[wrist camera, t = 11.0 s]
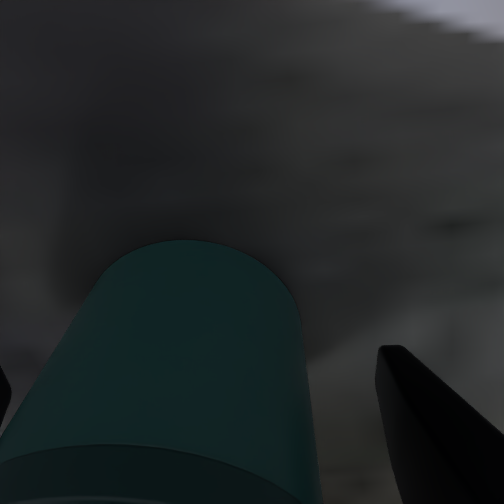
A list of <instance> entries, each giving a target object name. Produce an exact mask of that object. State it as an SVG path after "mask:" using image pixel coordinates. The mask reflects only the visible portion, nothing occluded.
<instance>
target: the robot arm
mask: <svg viewBox="0 0 504 504" xmlns="http://www.w3.org/2000/svg"><path fill="white" fill-rule="evenodd" d="M375 385H376V392H377V397H378V402H379V407H380V412H381V417H382V422H383V427H384V432H385V437H386V442H387V447H388V452H389V456H390V461H391V465H392V469H393V473H394V476H395V480H396V483H397V486H398V489H399V493H400V496H401V499H402V502H403V504H504V434H503V433H501V432H500V431H499V430H498V429H497V428H496V427H495V426H493V425H492V424H491V423H490V422H489V421H488V420H487V419H485V418H484V417H483V416H482V415H481V414H480V413H479V412H478V411H476V410H475V409H474V408H473V407H472V406H471V405H470V404H468V403H467V402H466V401H465V400H464V399H463V398H462V397H460V396H459V395H458V394H457V393H456V392H455V391H454V390H453V389H451V388H450V387H449V386H448V385H447V384H446V383H445V382H443V381H442V380H441V379H440V378H439V377H438V376H437V375H435V374H434V373H433V372H432V371H431V370H430V369H429V368H428V367H426V366H425V365H424V364H423V363H422V362H421V361H420V360H418V359H417V358H416V357H415V356H414V355H413V354H412V353H410V352H409V351H408V350H407V349H406V348H405V347H403V346H401V345H383V346H381V347H380V348H379V350H378V356H377V365H376V374H375ZM11 393H12V391H11V387H10V384H9V382H8V380H7V378H6V376H5V374H4V372H3V370H2V368H1V366H0V427H1V424H2V422H3V419H4V416H5V414H6V411H7V408H8V406H9V403H10V400H11Z"/></svg>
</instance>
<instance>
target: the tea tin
mask: <svg viewBox="0 0 504 504" xmlns="http://www.w3.org/2000/svg"><path fill="white" fill-rule="evenodd" d="M0 504H323V498H322V490H321V481H320V473H319V465H318V457H317V449H316V441H315V433H314V425H313V417H312V409H311V401H310V393H309V385H308V377H307V369H306V360H305V352H304V344H303V336H302V328H301V320H300V316H299V312H298V308H297V306H296V304H295V302H294V299H293V297H292V296H291V294H290V292H289V291H288V289H287V288H286V286H285V285H284V284H283V283H282V282H281V280H280V279H279V278H278V277H277V276H276V275H275V274H274V273H273V272H271V271H270V270H269V269H268V268H267V267H266V266H264V265H263V264H261V263H260V262H258V261H257V260H256V259H254V258H252V257H250V256H248V255H246V254H244V253H242V252H241V251H238V250H235V249H233V248H230V247H227V246H224V245H220V244H216V243H212V242H205V241H198V240H173V241H164V242H159V243H155V244H151V245H147V246H145V247H142V248H139V249H136V250H134V251H132V252H130V253H128V254H126V255H125V256H123V257H121V258H120V259H118V260H117V261H116V262H114V263H113V264H112V265H110V267H109V268H108V269H107V270H106V271H105V272H104V273H103V274H102V275H101V276H100V278H99V279H98V281H97V282H96V283H95V285H94V287H93V288H92V290H91V291H90V293H89V295H88V296H87V298H86V300H85V301H84V303H83V304H82V306H81V308H80V309H79V311H78V313H77V314H76V316H75V317H74V319H73V321H72V322H71V324H70V326H69V327H68V329H67V330H66V332H65V334H64V335H63V337H62V339H61V340H60V342H59V343H58V345H57V347H56V348H55V350H54V352H53V353H52V355H51V356H50V358H49V360H48V361H47V363H46V365H45V366H44V368H43V369H42V371H41V373H40V374H39V376H38V378H37V379H36V381H35V382H34V384H33V386H32V387H31V389H30V391H29V392H28V394H27V395H26V397H25V399H24V400H23V402H22V404H21V405H20V407H19V408H18V410H17V412H16V413H15V415H14V417H13V418H12V420H11V421H10V423H9V425H8V426H7V428H6V429H5V431H4V433H3V434H2V436H1V438H0Z"/></svg>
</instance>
